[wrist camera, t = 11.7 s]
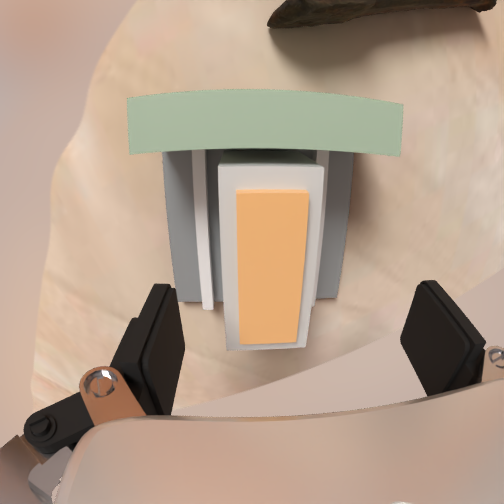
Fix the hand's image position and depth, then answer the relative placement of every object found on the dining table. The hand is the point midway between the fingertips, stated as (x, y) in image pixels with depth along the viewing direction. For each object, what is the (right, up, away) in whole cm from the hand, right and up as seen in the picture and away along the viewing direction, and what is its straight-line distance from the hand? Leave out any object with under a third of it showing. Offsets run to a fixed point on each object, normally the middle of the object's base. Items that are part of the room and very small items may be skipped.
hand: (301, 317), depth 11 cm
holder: (-1, +4, +9) cm, 10 cm away
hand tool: (+8, +20, +3) cm, 22 cm away
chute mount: (-1, +6, +9) cm, 11 cm away
